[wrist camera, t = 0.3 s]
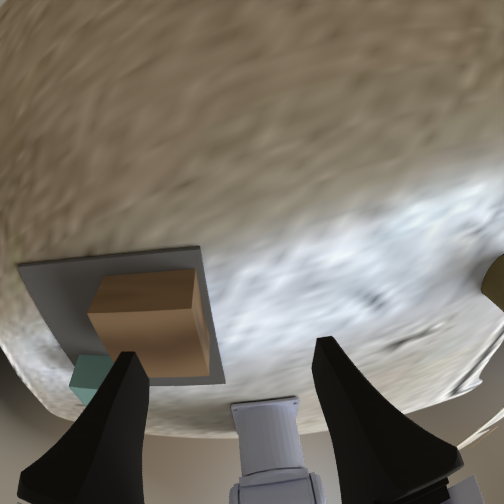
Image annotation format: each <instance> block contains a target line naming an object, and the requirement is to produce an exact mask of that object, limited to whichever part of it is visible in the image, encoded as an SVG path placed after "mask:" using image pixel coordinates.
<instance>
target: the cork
mask: <svg viewBox="0 0 504 504" xmlns="http://www.w3.org/2000/svg"><path fill="white" fill-rule="evenodd" d="M481 289H482V293H483V294H484V295H485V296H486V297H488V298H489V299H490V300H491V301H492V302H493V303H494V304H496V305H497V306H498V307H499V308H500V309H501V310H502V311H503V312H504V254H503V255H502V256H500V257H499V258H498V259H497V260H496V261H495V262H494V263H493V264H492V266H491V267H490V268H489V270H488V272H487V273H486V275H485V277H484V280H483V283H482V288H481Z"/></svg>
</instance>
